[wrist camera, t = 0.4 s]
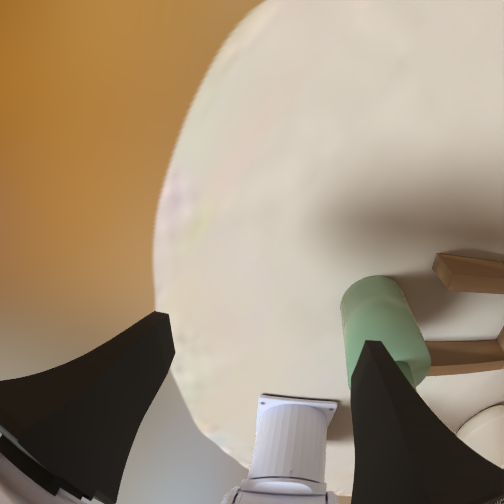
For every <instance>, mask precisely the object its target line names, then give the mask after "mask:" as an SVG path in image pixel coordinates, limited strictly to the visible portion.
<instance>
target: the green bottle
mask: <svg viewBox="0 0 504 504" xmlns="http://www.w3.org/2000/svg"><path fill="white" fill-rule="evenodd" d="M340 310H341V317H342V326H343V334H344V343H345V353H346V363H347V375H348V385H349V388H350V390H351V376H352V374H353V371H354V369H355V366H356V364H357V361H358V359H359V356H360V353H361V351H362V348H363V345H364V343H365V340H374V341H382V343H383V344H384V346H385V347H386V349H387V350H388V352H389V353H390V355H391V356H392V358H393V359H394V361H395V362H396V364H397V365H398V367H399V368H400V370H401V371H402V372H403V374H404V375H405V377H406V378H407V380H408V381H409V382H410V384H411V385H412V387H413V388H414V389H415V391H416V392H417V390H416V386H417V385H419V384H420V383H421V382H422V381H423V379H424V378H425V377H426V375H427V374H428V372H429V370H430V367H431V357H430V354H429V352H428V349H427V346H426V344H425V341H424V339H423V336H422V334H421V332H420V329H419V327H418V324H417V322H416V320H415V317H414V315H413V313H412V311H411V308H410V306H409V304H408V302H407V300H406V297H405V295H404V293H403V291H402V289H401V287H400V286H399V284H398V283H397V282H396V281H394V280H393V279H391V278H388V277H385V276H370V277H366V278H363V279H361V280H359V281H357V282H356V283H354V284H353V285H352V286H351V287H350V288H349V289H348V290H347V291H346V292H345V294H344V296H343V298H342V301H341V306H340Z"/></svg>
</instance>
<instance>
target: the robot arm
mask: <svg viewBox="0 0 504 504" xmlns="http://www.w3.org/2000/svg"><path fill="white" fill-rule="evenodd" d="M174 355H175V348H174V343H173V337H172V331H171V325H170V319H169V314H166V313H161V312H156V311H154V312H152V313H151V314H149V315H148V316H146V317H144V318H143V319H141V320H140V321H138V322H137V323H135V324H134V325H132V326H131V327H129V328H128V329H126V330H125V331H124V332H122V333H120V334H119V335H117V336H116V337H114V338H112V339H111V340H109V341H107V342H106V343H104V344H102V345H101V346H99V347H97V348H95V349H94V350H92V351H90V352H89V353H87V354H85V355H83V356H81V357H79V358H76V359H74V360H72V361H70V362H68V363H66V364H63V365H60V366H58V367H55V368H52V369H49V370H47V371H44V372H41V373H37V374H34V375H30V376H26V377H22V378H16V379H10V380H3V381H0V432H1V433H2V436H1V437H0V504H86V503H84V502H82V501H81V498H82V496H83V497H85V498H86V499H88V500H90V501H91V500H92V499H93V498H95V499H96V500H98V501H100V502H102V503H104V504H115V503H116V501H117V495H118V491H119V487H120V483H121V479H122V475H123V471H124V468H125V465H126V461H127V458H128V455H129V452H130V450H131V447H132V444H133V441H134V439H135V436H136V433H137V431H138V428H139V426H140V423H141V421H142V419H143V417H144V415H145V413H146V412H147V410H148V408H149V406H150V405H151V403H152V401H153V399H154V397H155V395H156V394H157V392H158V390H159V388H160V386H161V385H162V383H163V381H164V379H165V377H166V375H167V373H168V371H169V368H170V366H171V363H172V360H173V358H174ZM336 409H337V402H334V401H317V400H304V399H293V398H283V397H275V396H267V395H261V396H259V400H258V412H257V423H256V435H255V437H256V442H255V447H254V452H253V456H252V461H251V465H250V470H249V474H248V478H247V479H243V480H242V484H241V487H239V486H235V487H233V489H231V490H229V491H228V492H227V493H226V495H225V496H224V498H223V501H222V503H221V504H339V499H338V496H337V495H336V494H334V492H333V491H327V492H326V483H324V479H325V461H326V437H327V428H328V426H329V424H330V422H331V420H332V417H333V415H334V413H335V411H336ZM351 411H352V421H353V432H354V445H355V471H354V483H353V492H352V500H351V504H494V503H496V502H497V501H499V500H501V499H502V498H503V497H504V469H502V468H500V467H499V466H497V465H495V464H493V463H492V462H490V461H488V460H487V459H485V458H484V457H482V456H481V455H479V454H478V453H477V452H475V451H474V450H473V449H471V448H470V447H469V446H468V445H466V444H465V443H464V442H463V441H462V440H460V439H459V438H458V437H457V436H456V435H455V434H454V433H453V432H452V431H450V430H449V429H448V428H447V427H446V426H445V425H444V424H443V422H442V421H441V420H440V419H439V418H438V417H437V416H436V415H435V414H434V413H433V412H432V410H431V409H430V408H429V407H428V406H427V405H426V403H425V402H424V401H423V400H422V398H421V397H420V396H419V394H418V393H417V392H416V391H415V389H414V388H413V387H412V385H411V384H410V382H409V381H408V380H407V378H406V377H405V375H404V374H403V372H402V371H401V370H400V368H399V367H398V365H397V364H396V362H395V361H394V359H393V358H392V356H391V355H390V353H389V352H388V350H387V349H386V347H385V346H384V344H383V343H382V341H374V340H365V343H364V345H363V348H362V351H361V353H360V356H359V359H358V361H357V364H356V366H355V369H354V371H353V374H352V376H351Z"/></svg>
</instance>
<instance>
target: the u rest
mask: <svg viewBox="0 0 504 504" xmlns="http://www.w3.org/2000/svg"><path fill="white" fill-rule="evenodd" d="M432 269H433V270H434V272H435V273H436V274H437V276H438V277H439V279H440V280H441V281H442V283H443V284H444V286H445V287H446V289H447V290H448V291H463V292H478V293H494V294H504V262H497V261H490V260H483V259H475V258H468V257H460V256H453V255H445V254H437V255H436V258H435V261H434V265H433V268H432ZM425 344H426V346H427V349H428V352H429V354H430V357H431V367H430V370H429V372H428V374H427V375H426V376H440V375H454V374H465V373H475V372H484V371H491V370H498V369H504V327H503V329H502V331H501V332H500V334H499V336H498V338H497V340H486V341H460V342H425Z"/></svg>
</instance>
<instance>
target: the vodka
mask: <svg viewBox="0 0 504 504" xmlns="http://www.w3.org/2000/svg"><path fill="white" fill-rule="evenodd" d="M456 436H457V437H458V438H459V439H460V440H462V441H463V442H464V443H465V444H466V445H468V446H469V447H470V448H471V449H473V450H474V451H475V452H477V453H478V454H479V455H481V456H482V457H484V458H485V459H487V460H488V461H490V462H492V463H493V464H495V465H497V466H499V467H500V468H502V469H504V405H497V406H492V407H490V408H487V409H485V410H483V411H481V412H480V413H478V414H476V415H475V416H473V417H472V418H471V419H469V420H468V421H467V422H466V423H465V424H464V425H463V426H462V427H461V428H460V429H459V431H458V432H457V434H456ZM494 504H504V497H503V498H502V499H501V500H499V501H497V502H496V503H494Z"/></svg>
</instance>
